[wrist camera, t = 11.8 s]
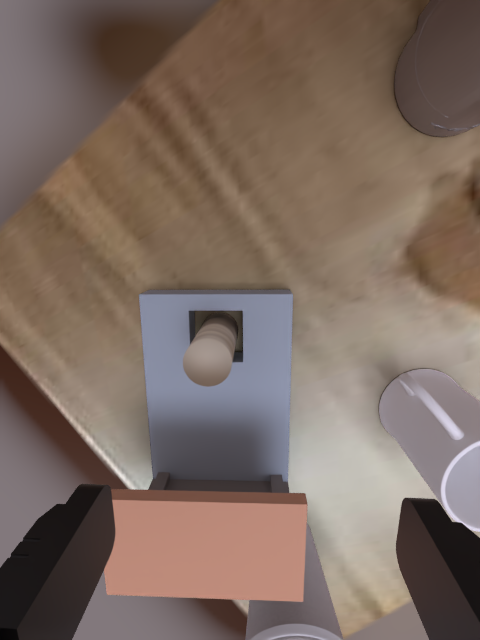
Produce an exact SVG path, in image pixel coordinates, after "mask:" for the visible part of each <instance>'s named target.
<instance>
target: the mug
mask: <svg viewBox="0 0 480 640" xmlns="http://www.w3.org/2000/svg"><path fill="white" fill-rule="evenodd" d="M379 416H380V420H381V422H382V425H383V426H384V428H385V429H386V431H387V432H388V433H389V434H390V435H391V436H392V437H394V438H395V439H396V441H397V442H398V444H399V445H400V446H401V448H402V449H403V451H404V452H405V453H406V455H407V456H408V458H409V459H410V460H411V462H412V463H413V465H414V466H415V468H416V469H417V470H418V472H419V473H420V475H421V476H422V477H423V479H424V480H425V482H426V483H427V484H428V486H429V487H430V489H431V490H432V491H433V493H434V494H435V496H436V497H437V499H438V500H439V501H440V503H441V504H442V506H443V507H444V508H445V510H446V511H447V512H448V514H449V515H450V516H451V517H452V518H453V519H454V520H455V521H456V522H461V523H463V524H464V525H465V526H466V527H467V528H468V529H471V530H474V531H478V532H480V401H479V400H478V399H476V398H475V397H473V396H472V395H471V394H469V393H468V392H466V391H465V390H464V389H462V388H461V387H460V386H459V385H458V384H457V383H456V382H455V381H454V380H453V379H452V378H451V377H450V376H448V375H447V374H445V373H443V372H440V371H437V370H433V369H416V370H412V371H409V372H406V373H402V374H401V375H400V376H398V377H397V378H396V379H394V380H393V381H392V382H391V383H390V384H389V385H388V386H387V388H386V389H385V391H384V392H383V394H382V396H381V399H380V403H379Z"/></svg>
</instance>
